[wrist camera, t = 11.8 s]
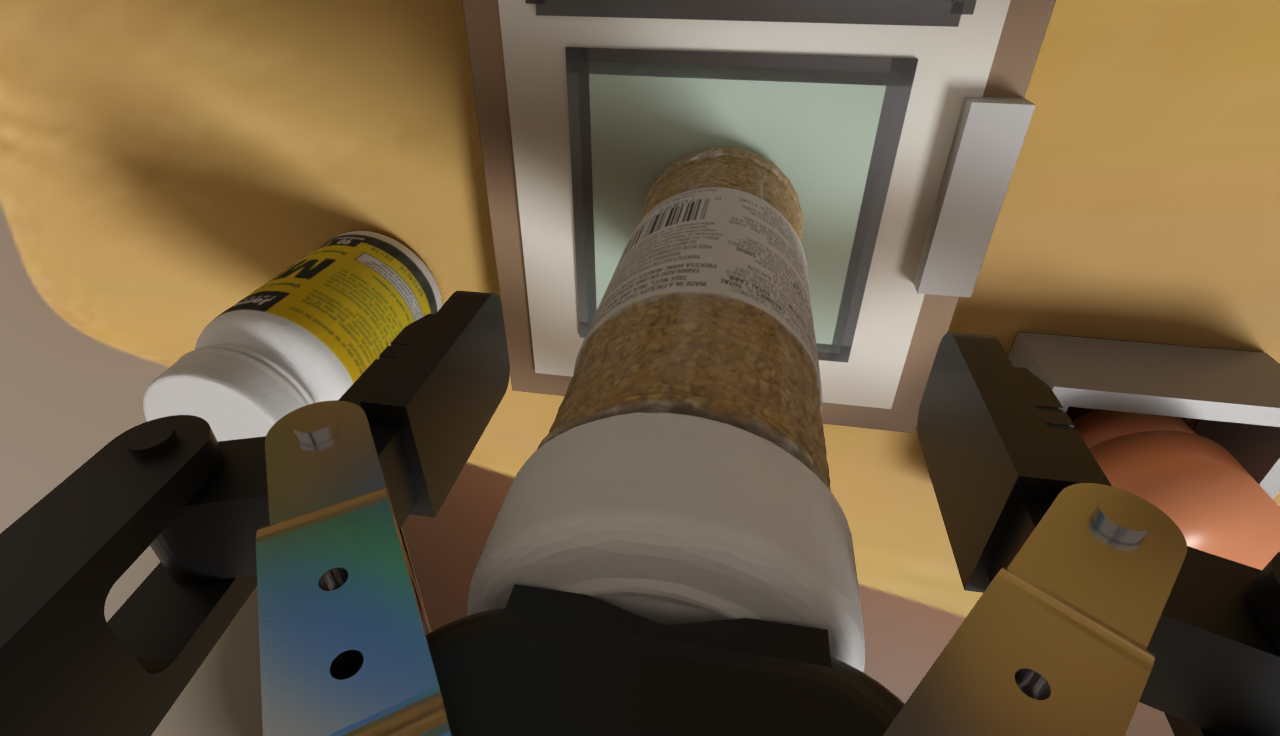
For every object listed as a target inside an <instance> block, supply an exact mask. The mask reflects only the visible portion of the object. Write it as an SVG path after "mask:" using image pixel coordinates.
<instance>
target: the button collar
mask: <svg viewBox="0 0 1280 736" xmlns="http://www.w3.org/2000/svg"><path fill="white" fill-rule="evenodd" d="M1008 358H1009V359H1010V361H1011V363H1012V365H1013V366H1014V367H1023V368H1027V369H1028V370H1029V371H1030V372H1032V373H1033V374H1034V375H1035V376H1037V377H1038V378H1039V379H1041V380H1042V381H1043V382H1044V383H1046V384H1047V385H1048V386H1049V387H1050V388H1051V389H1052V391H1053V392H1054V394H1055V395H1056V397H1057V399H1058V400H1059V402H1060V403H1061V405H1062V407H1063V412H1066V411H1067V409H1068V407H1069V406H1071V407H1081V408H1091V409H1101V410H1111V411H1121V412H1132V413H1142V414H1152V415H1162V416H1172V417H1183V418H1193V419H1200V420H1199V422H1198V423H1197V425H1196V426H1195V428H1194V429H1193V431H1194V432H1195V433H1196V434H1197V435H1200V436H1203V437H1205V438H1208V439H1210V440H1213V441H1214V442H1216V443H1218V444H1220V445H1221V446H1223V447H1224V448H1225V449H1226V450H1227V451H1229V452H1230V454H1231V455H1232V456H1233V457H1234V458H1235V459H1236V460H1237V461H1238V462H1239V463H1240V464H1241V466H1242V467H1243V468H1244V469H1245V470H1246V471H1247V472H1248V473H1249V474H1250V475H1251V476H1252V478H1253V479H1254V480H1255V481H1256V482H1257V483H1258V484H1259V485H1260V486H1261V487H1262V488H1263V490H1264V491H1265V492H1266V493H1267V494H1268V495H1269V496H1270V497H1271V498H1272V499H1274V497H1275V496H1276V495H1277V493H1278V492H1279V491H1280V364H1279V363H1278V362H1277V361H1275V360H1274V359H1273V358H1272V357H1270V356H1269V355H1268V354H1267V353H1261V352H1249V351H1237V350H1225V349H1214V348H1202V347H1190V346H1178V345H1167V344H1155V343H1143V342H1131V341H1120V340H1108V339H1096V338H1084V337H1073V336H1061V335H1049V334H1037V333H1025V332H1018V333H1017V336H1016V338H1015V341H1014V343H1013V346H1012V348H1011V351H1010V353H1009V356H1008Z"/></svg>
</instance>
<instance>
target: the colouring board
mask: <svg viewBox="0 0 1280 736" xmlns="http://www.w3.org/2000/svg"><path fill="white" fill-rule="evenodd" d="M1055 2H1056V0H463V7H464V15H465V23H466V30H467V38H468V46H469V54H470V62H471V70H472V78H473V85H474V93H475V101H476V109H477V117H478V125H479V132H480V140H481V148H482V156H483V164H484V172H485V180H486V187H487V195H488V203H489V211H490V219H491V227H492V235H493V242H494V250H495V258H496V266H497V274H498V282H499V290H500V297H501V305H502V311H503V318H504V325H505V332H506V340H507V347H508V354H509V362H510V376H511V384H512V390H513V391H522V392H532V393H541V394H550V395H560V396H565V395H566V392H567V389H568V386H569V384H570V381H571V379H572V377H573V374H574V367H575V362H576V359H577V356H578V353H579V350H580V348H581V346H582V343H583V341H584V339H585V336H586V334H587V332H588V329H589V327H590V325H591V323H592V320H593V318H594V316H595V314H596V311H597V309H598V307H599V305H600V303H601V300H602V298H603V296H604V294H605V292H606V289H607V287H608V285H609V283H610V281H611V278H612V276H613V274H614V272H615V270H616V267H617V265H618V263H619V261H620V258H621V256H622V254H623V252H624V249H625V247H626V245H627V243H628V241H629V239H630V237H631V235H632V233H633V231H634V229H635V228H636V227H637V225H638V224H639V223H640V221H641V213H642V209H643V207H644V205H645V202H646V199H647V196H648V193H649V191H650V189H651V187H652V186H653V184H654V183H655V182H656V180H657V179H658V178H659V177H660V176H661V175H662V173H663V172H664V171H665V170H666V169H667V168H668V167H669V166H670V165H672V164H673V163H674V162H676V161H679V160H681V159H683V158H684V157H685V156H687V155H689V154H691V153H694V152H698V151H701V150H703V149H707V148H713V147H727V148H739V149H743V150H746V151H750V152H753V153H756V154H758V155H760V156H762V157H763V158H765V159H767V160H770V161H772V162H773V163H774V164H775V165H776V166H777V167H778V168H779V169H780V170H781V171H782V172H783V173H784V174H785V175H786V176H787V177H788V178H789V180H790V182H791V184H792V185H793V187H794V189H795V191H796V193H797V195H798V199H799V204H800V207H801V209H802V213H803V230H802V239H801V243H802V247H803V250H804V253H805V258H806V262H807V270H808V279H809V288H810V299H811V307H812V314H813V322H814V330H815V337H816V344H817V351H818V360H819V369H820V378H821V387H822V396H823V403H822V412H821V417H822V423H823V424H832V425H842V426H851V427H860V428H870V429H879V430H889V431H898V432H907V433H915V430H916V427H917V422H918V412H919V407H920V403H921V400H922V396H923V393H924V390H925V387H926V384H927V381H928V378H929V375H930V372H931V369H932V366H933V362H934V359H935V356H936V353H937V350H938V347H939V344H940V342H941V340H942V338H943V336H944V335H945V334H946V333H947V332H948V329H949V326H950V323H951V320H952V317H953V314H954V311H955V308H956V305H957V302H958V299H959V297H968V298H971V295H972V292H973V289H974V286H975V283H976V280H977V277H978V274H979V271H980V268H981V265H982V262H983V259H984V256H985V253H986V251H987V248H988V245H989V242H990V239H991V236H992V233H993V230H994V227H995V224H996V221H997V218H998V215H999V212H1000V209H1001V206H1002V203H1003V200H1004V197H1005V194H1006V191H1007V189H1008V186H1009V183H1010V180H1011V177H1012V174H1013V171H1014V168H1015V165H1016V162H1017V159H1018V156H1019V153H1020V150H1021V147H1022V144H1023V141H1024V138H1025V135H1026V132H1027V130H1028V127H1029V124H1030V121H1031V118H1032V115H1033V112H1034V109H1035V106H1036V105H1035V104H1033V103H1032V102H1030V101H1028V100H1026V99H1025V98H1024V97H1025V94H1026V91H1027V88H1028V85H1029V82H1030V79H1031V76H1032V73H1033V69H1034V66H1035V63H1036V60H1037V57H1038V54H1039V51H1040V48H1041V45H1042V42H1043V39H1044V36H1045V33H1046V30H1047V27H1048V24H1049V21H1050V18H1051V14H1052V11H1053V8H1054V5H1055Z"/></svg>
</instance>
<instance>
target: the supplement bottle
mask: <svg viewBox="0 0 1280 736" xmlns="http://www.w3.org/2000/svg"><path fill="white" fill-rule="evenodd" d="M441 307H442V301H441V295H440V291H439V288H438V285H437V283H436V280H435V279H434V277H433V275H432V273H431V272H430V270H429V269H428V267H427V266H426V265H425V264H424V263H423V261H422V260H421V259H420V258H419V257H418V256H417V255H416V254H415V253H413V252H412V251H411V250H410V249H408V248H407V247H406V246H404V245H403V244H401V243H399V242H398V241H396V240H394V239H392V238H390V237H388V236H385V235H382V234H379V233H375V232H369V231H352V232H347V233H343V234H340V235H338V236H336V237H334V238H332V239H330V240H329V241H327V242H326V243H324V244H323V245H321V246H320V247H318V248H317V249H315V250H314V251H313V252H311V253H310V254H308V255H307V256H305V257H304V258H302V259H301V260H300V261H298V262H297V263H295V264H294V265H292V266H291V267H289V268H288V269H287V270H285V271H284V272H282V273H281V274H279V275H277V276H276V277H275V278H273V279H272V280H271V281H269V282H268V283H266V284H265V285H263V286H262V287H260V288H259V289H257V290H256V291H254V292H253V293H251V294H250V295H248V296H247V297H246V298H244V299H243V300H241V301H239V302H238V303H237V304H236V305H234V306H232V307H231V308H229V309H228V310H226V311H224V312H223V313H222V314H220V315H219V316H217V317H216V318H215V319H214V320H213V321H212V322H210V323H209V324H208V325H207V326H206V327H205V329H204V330H203V332H202V333H201V335H200V336H199V338H198V341H197V343H196V347H195V350H194V351H191V352H189V353H187V354H185V355H184V356H182V357H181V358H180V359H179V360H178V361H177V362H176V363H175V364H174V365H172V366H171V367H170V368H169V369H167V370H166V371H165V372H164V373H162V374H161V375H160V376H159V377H157V378H156V379H155V380H154V381H153V382H152V383H151V384H150V385H149V386H148V388H147V390H146V392H145V395H144V399H143V409H144V413H145V417H146V420H147V422H148V421H151V420H154V419H158V418H162V417H167V416H174V415H192V416H197V417H200V418H202V419H204V420H206V421H207V422H208V423H209V425H210V427H211V429H212V431H213V433H214V435H215V437H216V439H217V441H218V442H219V441H228V440H237V439H246V438H255V437H264V436H266V435H267V433H268V431H269V430H270V428H271V427H272V426H273V425H274V424H275V423H276V422H277V421H278V420H280V419H281V418H282V417H284V416H285V415H287V414H288V413H290V412H292V411H294V410H296V409H298V408H301V407H303V406H306V405H309V404H313V403H317V402H322V401H333V400H339V399H340V398H341V397H342V396H343V394H344V393H345V392H346V391H347V390H348V389H349V388H350V387H351V386H352V385H353V384H354V382H355V381H356V380H357V379H358V378H359V377H360V376H361V375H362V374H363V373H364V371H365V370H366V369H367V368H368V367H369V366H370V365H371V364H372V363H373V362H374V361H375V359H379V355H380V354H381V353H382V352H383V351H384V350H385V349H386V347H387V346H391V342H392V341H393V340H394V339H395V338H396V336H397V335H398V334H399V333H400V332H401V331H402V330H403V329H404V328H405V327H406V326H408V325H409V324H411V323H413V322H415V321H416V320H418V319H420V318H422V317H424V316H425V315H427V314H436V313H437V312H438V311H439V309H440V308H441Z"/></svg>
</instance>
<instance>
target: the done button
mask: <svg viewBox="0 0 1280 736" xmlns="http://www.w3.org/2000/svg"><path fill="white" fill-rule="evenodd" d="M1072 423H1073V424H1074V430H1077V431H1078V432H1079V434H1080V435H1081V437H1082V439H1083V440H1084V442H1085V443H1086V445H1087V447H1088V448H1089V450H1090V451H1091V453H1092V455H1093V456H1094V458H1095V459H1096V461H1097V463H1098V464H1099V466H1100V467H1101V469H1102V471H1103V472H1104V474H1105V475H1106V477H1107V479H1108V480H1109V482H1110V483H1111V485H1112V487H1116V488H1119V489H1122V490H1125V491H1127V492H1130V493H1132V494H1134V495H1137V496H1138V497H1140V498H1142V499H1144V500H1146V501H1148V502H1149V503H1151V504H1153V505H1154V506H1156V507H1157V508H1159V509H1160V510H1161V511H1163V512H1164V513H1165V514H1166V515H1167V516H1168V517H1169V518H1171V519H1172V520H1173V521H1174V523H1175V524H1176V525H1177V526H1178V527H1179V529H1180V530H1181V532H1182V533H1183V535H1184V537H1185V540H1186V542H1187V546H1189V547H1192V548H1195V549H1198V550H1201V551H1204V552H1207V553H1210V554H1213V555H1216V556H1219V557H1222V558H1225V559H1228V560H1232V561H1235V562H1238V563H1241V564H1244V565H1247V566H1250V567H1253V568H1256V569H1259V570H1263V569H1264V568H1265V566H1266V565H1267V564H1268V563H1269V562H1270V561H1271V560H1272V558H1273V557H1274V556H1275V555H1276V554H1277V553H1278V552H1280V507H1279V506H1278V505H1277V504H1276V503H1275V502H1274V500H1273V499H1272V498H1271V497H1270V496H1269V495H1268V494H1267V493H1266V492H1265V491H1264V490H1263V488H1262V487H1261V486H1260V485H1259V484H1258V483H1257V482H1256V481H1255V480H1254V479H1253V478H1252V476H1251V475H1250V474H1249V473H1248V472H1247V471H1246V470H1245V469H1244V468H1243V467H1242V466H1241V464H1240V463H1239V462H1238V461H1237V460H1236V459H1235V458H1234V457H1233V456H1232V455H1231V454H1230V452H1229V451H1227V450H1226V449H1225V448H1224V447H1223V446H1221V445H1220V444H1218V443H1216V442H1214V441H1213V440H1210V439H1208V438H1205V437H1203V436H1200V435H1197V434H1196V433H1195V432H1194V431H1193V430H1192V428H1191V427H1190V426H1189V425H1188V424H1187V423H1186V422H1185V421H1184V420H1183V419H1182V418H1180V417H1172V416H1162V415H1152V414H1142V413H1132V412H1121V411H1111V410H1101V409H1099V410H1095V411H1092V412H1089V413H1087V414H1084V415H1082V416H1079V417H1077V418H1076V419H1074V420H1072Z"/></svg>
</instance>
